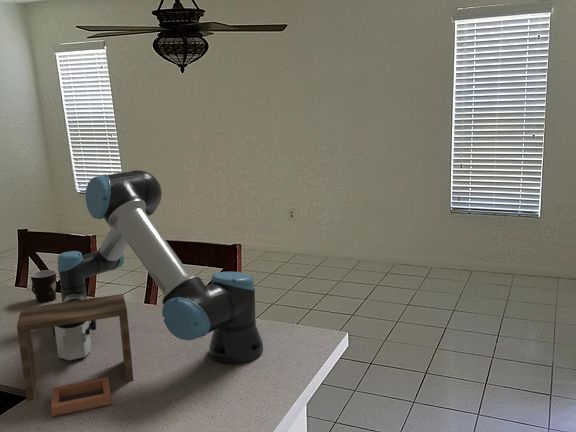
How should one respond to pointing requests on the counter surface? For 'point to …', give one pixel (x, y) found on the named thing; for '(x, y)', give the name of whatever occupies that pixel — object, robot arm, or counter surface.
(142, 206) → the robot arm
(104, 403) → the tray
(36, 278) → the coffee mug
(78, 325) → the jar
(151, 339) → the counter surface
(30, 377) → the archway
